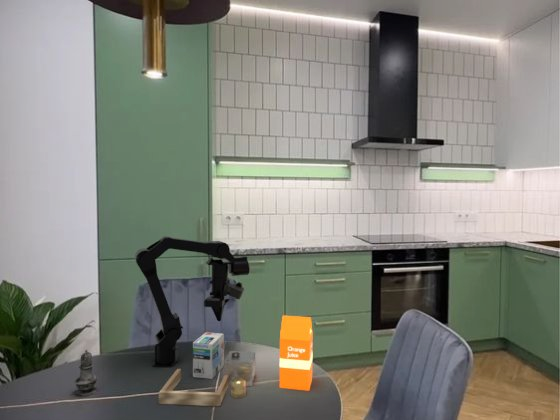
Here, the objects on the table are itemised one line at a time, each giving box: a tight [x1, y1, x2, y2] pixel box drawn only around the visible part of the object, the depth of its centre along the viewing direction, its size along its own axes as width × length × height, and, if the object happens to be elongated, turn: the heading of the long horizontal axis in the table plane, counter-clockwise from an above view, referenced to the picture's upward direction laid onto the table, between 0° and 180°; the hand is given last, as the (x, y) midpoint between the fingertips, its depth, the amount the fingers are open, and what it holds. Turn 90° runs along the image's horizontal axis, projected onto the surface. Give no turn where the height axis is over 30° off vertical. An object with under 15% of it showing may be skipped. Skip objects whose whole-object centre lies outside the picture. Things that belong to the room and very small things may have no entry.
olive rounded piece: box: [230, 377, 247, 399], centre depth 107 cm, size 4×4×4 cm
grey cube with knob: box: [224, 350, 257, 387], centre depth 116 cm, size 8×8×8 cm
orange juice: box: [279, 315, 314, 391], centre depth 113 cm, size 8×9×20 cm
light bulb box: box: [192, 331, 225, 380], centre depth 121 cm, size 11×7×11 cm, turn 168°
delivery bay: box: [158, 368, 230, 407], centre depth 108 cm, size 16×15×3 cm
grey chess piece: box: [74, 349, 99, 397], centre depth 107 cm, size 6×6×12 cm
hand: (219, 320), depth 135 cm, fingers closed
